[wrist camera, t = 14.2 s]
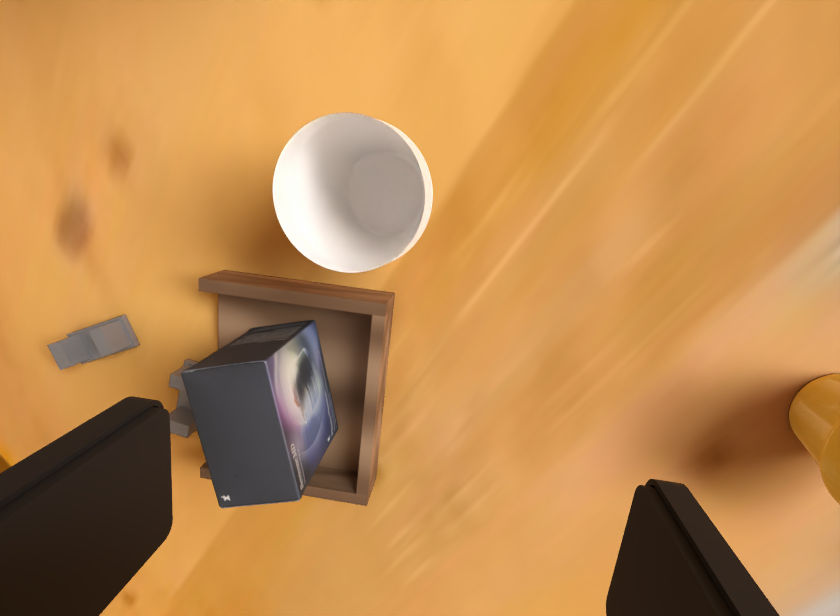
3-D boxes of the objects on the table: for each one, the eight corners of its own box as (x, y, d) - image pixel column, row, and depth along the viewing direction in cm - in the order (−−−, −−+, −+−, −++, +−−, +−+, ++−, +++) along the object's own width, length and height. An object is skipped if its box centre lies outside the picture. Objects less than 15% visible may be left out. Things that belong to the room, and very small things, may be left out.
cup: (358, 266, 39) (310, 298, 28) (313, 162, 38) (242, 150, 26) (458, 225, 38) (453, 241, 26) (416, 114, 36) (389, 79, 24)
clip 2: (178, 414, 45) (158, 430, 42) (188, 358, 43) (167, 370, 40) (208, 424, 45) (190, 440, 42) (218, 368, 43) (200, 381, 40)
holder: (224, 270, 41) (198, 278, 37) (394, 292, 40) (386, 304, 36) (223, 453, 45) (200, 477, 41) (375, 478, 44) (366, 505, 40)
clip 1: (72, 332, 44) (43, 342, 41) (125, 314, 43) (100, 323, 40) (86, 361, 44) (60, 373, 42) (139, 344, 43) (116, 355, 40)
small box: (344, 429, 42) (304, 505, 32) (276, 436, 43) (216, 512, 33) (319, 317, 40) (267, 360, 30) (247, 327, 41) (173, 372, 31)
